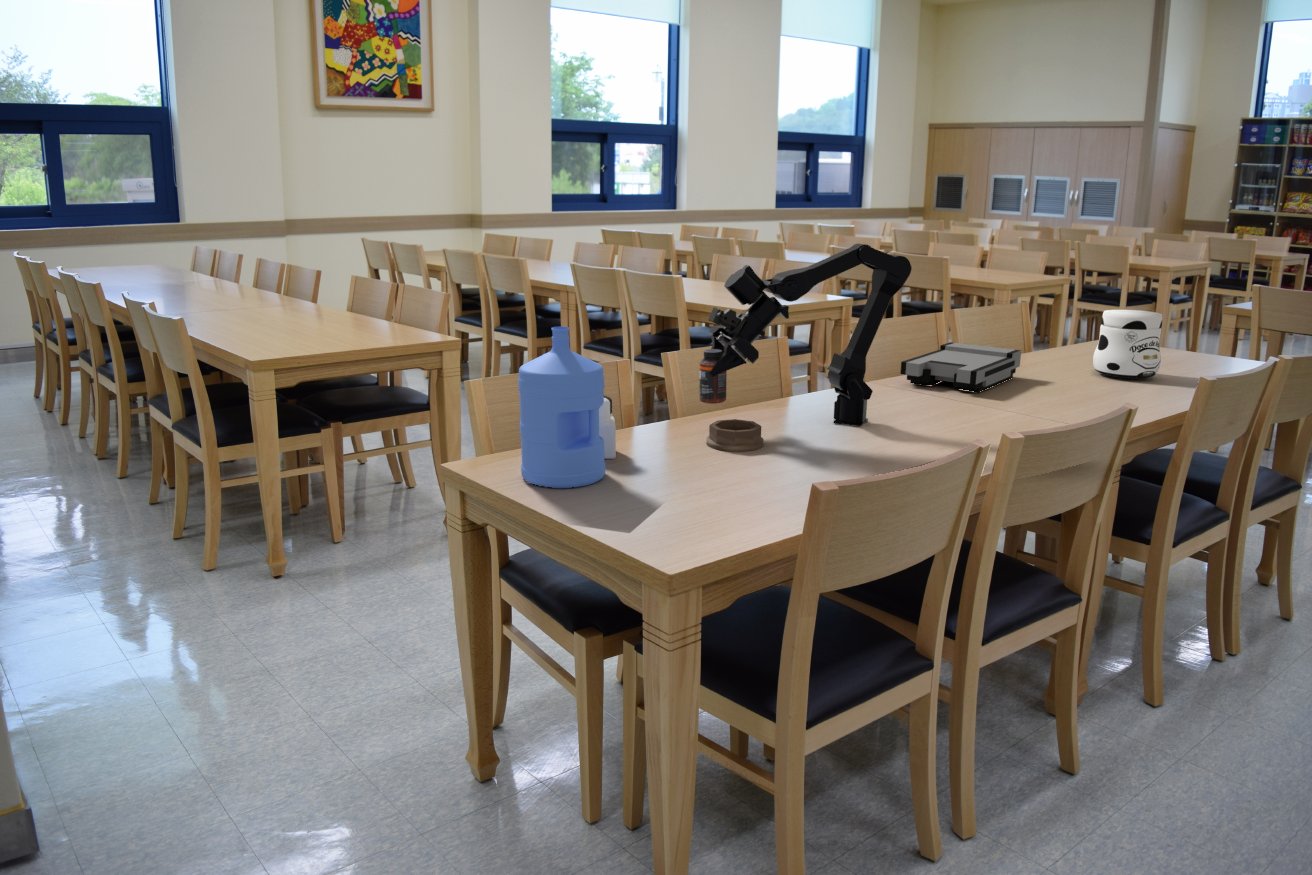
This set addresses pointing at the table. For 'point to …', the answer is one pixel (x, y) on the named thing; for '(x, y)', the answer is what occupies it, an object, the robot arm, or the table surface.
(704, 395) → the supplement bottle
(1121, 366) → the cow print jar
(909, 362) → the game console
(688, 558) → the table surface
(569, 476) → the water jug
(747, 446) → the ring
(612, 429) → the medicine bottle
